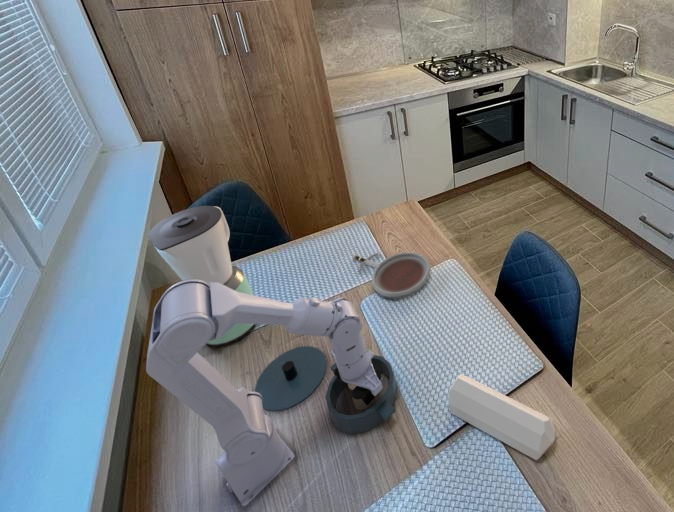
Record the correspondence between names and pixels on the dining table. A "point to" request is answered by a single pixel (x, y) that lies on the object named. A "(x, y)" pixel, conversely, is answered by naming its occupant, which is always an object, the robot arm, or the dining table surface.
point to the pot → (370, 416)
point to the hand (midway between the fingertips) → (363, 393)
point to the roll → (358, 399)
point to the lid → (291, 378)
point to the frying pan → (398, 274)
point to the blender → (201, 255)
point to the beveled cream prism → (501, 417)
